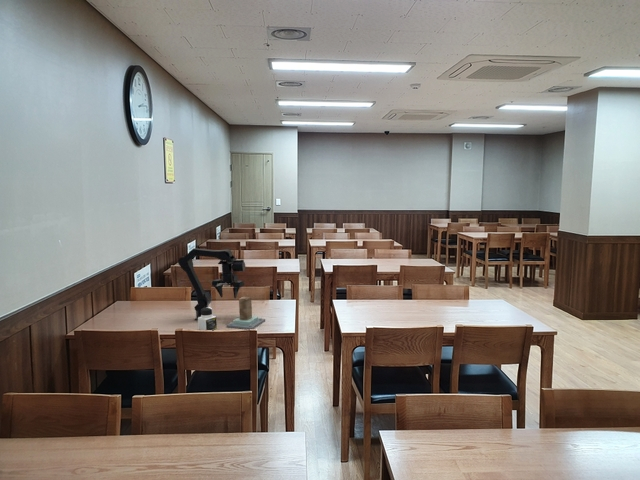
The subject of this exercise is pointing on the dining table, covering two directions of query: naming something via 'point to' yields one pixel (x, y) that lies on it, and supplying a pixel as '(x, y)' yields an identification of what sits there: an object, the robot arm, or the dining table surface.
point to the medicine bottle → (207, 319)
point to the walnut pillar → (245, 308)
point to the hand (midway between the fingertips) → (228, 297)
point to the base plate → (246, 323)
